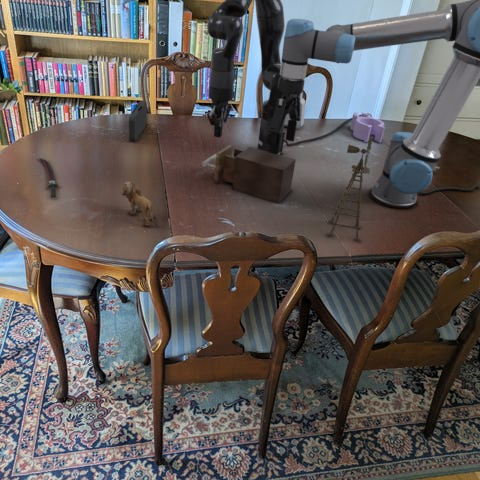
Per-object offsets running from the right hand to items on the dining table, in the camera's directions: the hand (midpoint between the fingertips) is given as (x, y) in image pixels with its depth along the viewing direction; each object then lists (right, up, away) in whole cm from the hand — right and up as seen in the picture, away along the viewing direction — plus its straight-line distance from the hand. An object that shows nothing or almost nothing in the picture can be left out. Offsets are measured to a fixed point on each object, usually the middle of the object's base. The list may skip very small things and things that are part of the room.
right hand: (281, 146), depth 147 cm
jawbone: (+58, +1, +42) cm, 72 cm away
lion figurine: (-43, -23, -11) cm, 50 cm away
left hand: (-21, +5, +9) cm, 23 cm away
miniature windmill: (+18, -27, -7) cm, 33 cm away
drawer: (-15, -8, +14) cm, 22 cm away
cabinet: (-6, -13, +11) cm, 18 cm away
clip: (+44, +19, +68) cm, 84 cm away
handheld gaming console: (-55, +15, +45) cm, 73 cm away
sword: (-76, -9, +4) cm, 76 cm away
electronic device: (+9, +24, +69) cm, 74 cm away
